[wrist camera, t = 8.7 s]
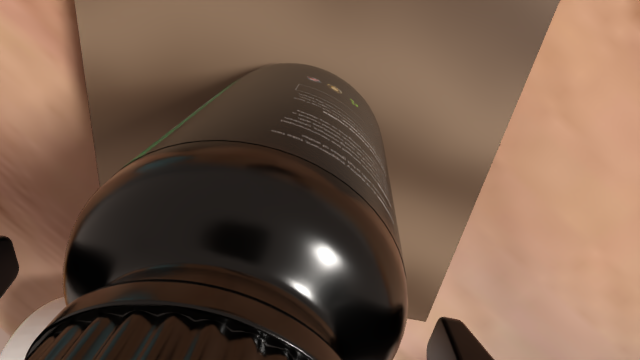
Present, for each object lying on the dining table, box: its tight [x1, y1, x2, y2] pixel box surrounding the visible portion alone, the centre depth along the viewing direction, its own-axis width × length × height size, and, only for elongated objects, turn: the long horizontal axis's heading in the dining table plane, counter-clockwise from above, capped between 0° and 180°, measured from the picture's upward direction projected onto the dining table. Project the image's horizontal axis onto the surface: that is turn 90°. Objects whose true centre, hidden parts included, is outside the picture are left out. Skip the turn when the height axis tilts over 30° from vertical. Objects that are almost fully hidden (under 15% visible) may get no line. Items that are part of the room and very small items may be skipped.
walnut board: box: [74, 0, 560, 322], centre depth 16 cm, size 16×16×2 cm
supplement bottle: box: [24, 63, 408, 360], centre depth 10 cm, size 7×7×12 cm
